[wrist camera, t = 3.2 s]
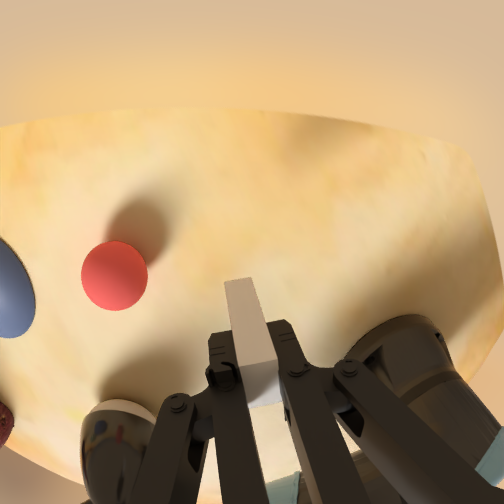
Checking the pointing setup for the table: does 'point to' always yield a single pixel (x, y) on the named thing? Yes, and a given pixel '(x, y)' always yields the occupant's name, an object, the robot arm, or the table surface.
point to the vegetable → (5, 423)
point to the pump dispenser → (114, 449)
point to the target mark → (14, 295)
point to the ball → (114, 275)
